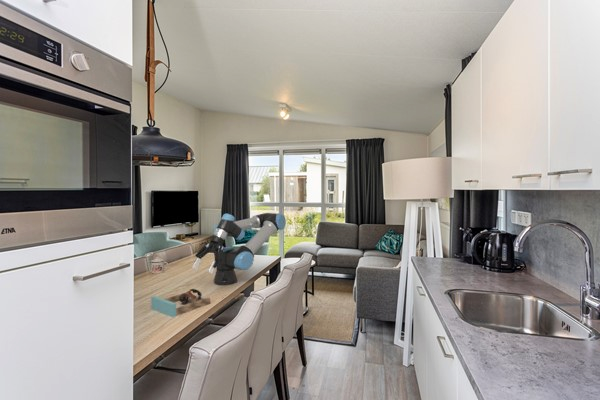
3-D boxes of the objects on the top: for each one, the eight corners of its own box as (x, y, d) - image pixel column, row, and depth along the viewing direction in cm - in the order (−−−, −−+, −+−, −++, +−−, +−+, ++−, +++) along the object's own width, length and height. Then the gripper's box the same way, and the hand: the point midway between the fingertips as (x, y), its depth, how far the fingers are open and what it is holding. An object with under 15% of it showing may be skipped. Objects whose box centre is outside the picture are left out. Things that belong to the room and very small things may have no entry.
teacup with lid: (150, 274, 223) (149, 258, 223) (151, 271, 231) (151, 256, 231) (167, 272, 227) (167, 257, 227) (168, 270, 235) (168, 255, 235)
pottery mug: (190, 299, 171) (197, 287, 170) (199, 310, 166) (206, 297, 165) (172, 300, 161) (179, 287, 160) (180, 311, 156) (188, 298, 155)
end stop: (155, 307, 157) (154, 295, 157) (176, 315, 146) (176, 303, 146) (151, 308, 156) (151, 297, 156) (172, 317, 145) (172, 304, 145)
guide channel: (188, 296, 174) (188, 291, 174) (210, 303, 163) (210, 298, 163) (155, 307, 157) (154, 301, 157) (176, 315, 146) (176, 309, 146)
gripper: (200, 232, 185) (183, 264, 176) (230, 236, 172) (213, 271, 162) (208, 238, 191) (192, 269, 181) (237, 242, 177) (221, 277, 168)
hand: (201, 270), depth 172 cm, fingers open, 13 cm apart
